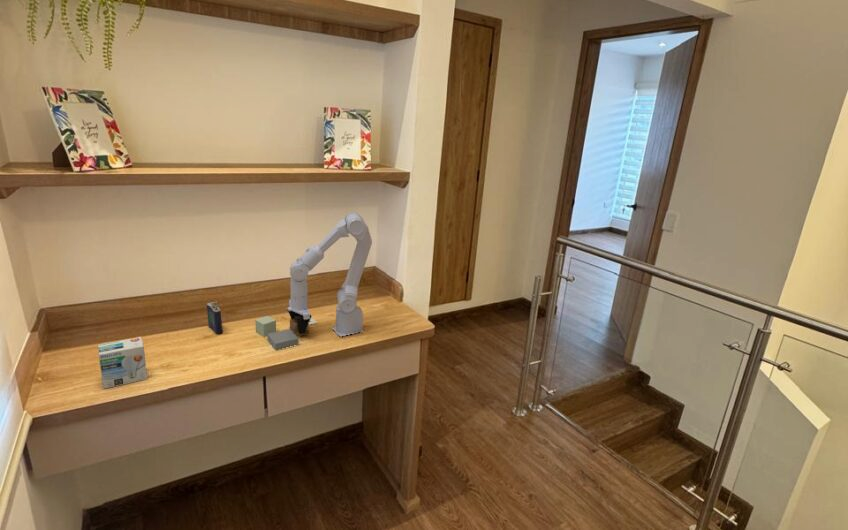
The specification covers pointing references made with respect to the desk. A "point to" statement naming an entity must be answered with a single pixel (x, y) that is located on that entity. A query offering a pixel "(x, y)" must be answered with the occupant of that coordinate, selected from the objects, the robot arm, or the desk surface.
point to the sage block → (265, 326)
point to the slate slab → (282, 339)
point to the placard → (312, 321)
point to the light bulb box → (122, 362)
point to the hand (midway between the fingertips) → (299, 329)
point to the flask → (214, 318)
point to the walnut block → (295, 328)
